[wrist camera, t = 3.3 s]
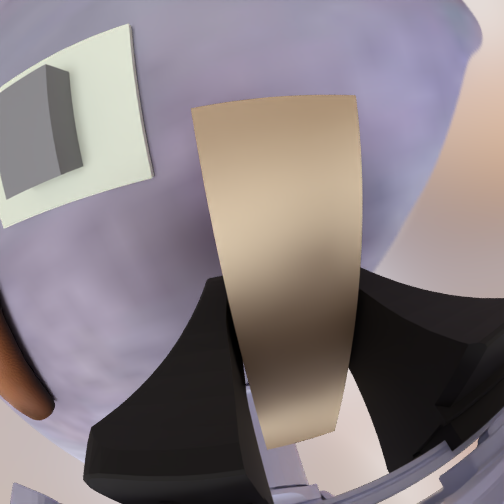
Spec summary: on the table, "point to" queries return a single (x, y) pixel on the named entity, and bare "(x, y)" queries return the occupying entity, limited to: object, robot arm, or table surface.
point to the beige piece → (288, 248)
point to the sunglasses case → (20, 379)
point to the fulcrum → (72, 127)
